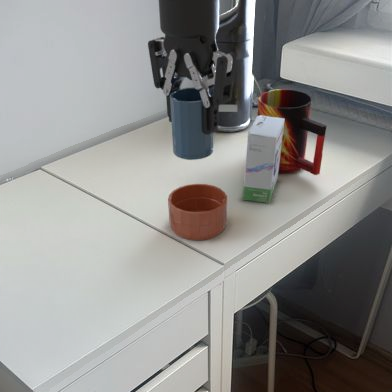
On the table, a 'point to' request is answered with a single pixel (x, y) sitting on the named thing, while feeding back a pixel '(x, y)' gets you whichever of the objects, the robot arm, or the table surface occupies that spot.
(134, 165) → the table surface
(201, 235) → the bowl
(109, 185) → the table surface
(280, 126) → the ink box
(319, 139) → the mug
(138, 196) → the table surface
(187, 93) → the cup
